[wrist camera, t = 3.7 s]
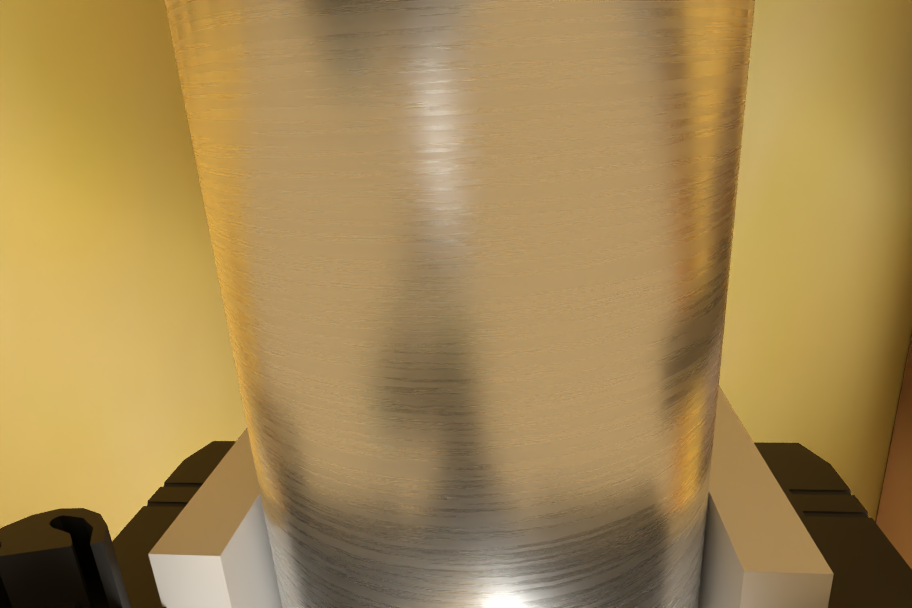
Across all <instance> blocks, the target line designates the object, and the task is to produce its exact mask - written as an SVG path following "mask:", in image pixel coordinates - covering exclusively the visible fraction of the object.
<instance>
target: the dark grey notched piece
mask: <svg viewBox="0 0 912 608" xmlns="http://www.w3.org/2000/svg"><path fill="white" fill-rule="evenodd" d="M876 524H877V525H878V527H879V528H880V529H881V530H882V532H883V533H884V534H885V536H886V537H887V538H888V540H889V541H890V542H891V543H892V545H893V546H894V547H895V549H896V550H897V551H898V552H899V554H900V555H901V556H902V558H903V559H904V560H905V562H906V563H907V564H908V565H909V567H910V568H911V569H912V336H911V341H910V346H909V351H908V357H907V362H906V367H905V372H904V378H903V383H902V388H901V393H900V399H899V404H898V409H897V414H896V420H895V425H894V430H893V435H892V441H891V446H890V451H889V457H888V462H887V467H886V472H885V478H884V483H883V488H882V493H881V499H880V504H879V509H878V514H877V520H876Z"/></svg>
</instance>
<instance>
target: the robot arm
mask: <svg viewBox="0 0 912 608" xmlns="http://www.w3.org/2000/svg"><path fill="white" fill-rule="evenodd" d="M0 608H282V604H281V598H280V593H279V588H278V583H277V578H276V573H275V568H274V562H273V557H272V552H271V547H270V542H269V537H268V531H267V526H266V521H265V516H264V511H263V506H262V501H261V495H260V490H259V485H258V480H257V475H256V470H255V464H254V459H253V454H252V449H251V444H250V439H249V434H248V428H246V430H245V431H244V432H243V433H242V435H241V436H240V437H239V439H238V440H237V441H213V442H211V443H210V444H208V445H207V446H205V447H204V448H202V449H200V450H199V451H197V452H196V453H194V454H193V455H191V456H190V457H188V458H186V459H185V460H184V461H183V462H182V463H181V464H180V465H179V466H178V467H177V469H176V470H175V471H174V472H173V473H172V474H171V475H170V477H169V478H168V479H167V480H166V481H165V482H164V487H160V488H159V489H158V490H157V491H156V492H155V494H154V495H153V496H152V497H151V498H150V499H149V500H148V505H147V506H143V507H142V508H141V510H140V511H139V512H138V513H137V514H136V515H135V516H134V518H133V519H132V520H131V521H130V522H129V523H128V524H127V525H126V527H125V528H124V529H123V530H122V531H121V532H120V533H119V535H118V536H117V537H116V538H115V539H114V540H113V541H112V540H111V537H110V534H109V530H108V527H107V524H106V523H105V521H104V520H103V518H102V516H101V515H100V514H99V513H96V512H93V511H90V510H87V509H84V508H72V509H57V510H52V511H48V512H44V513H39V514H35V515H32V516H29V517H27V518H24V519H22V520H19V521H17V522H14V523H12V524H10V525H7V526H5V527H3V528H1V529H0ZM698 608H912V569H911V568H910V567H909V565H908V564H907V563H906V562H905V560H904V559H903V558H902V556H901V555H900V554H899V552H898V551H897V550H896V549H895V547H894V546H893V545H892V543H891V542H890V541H889V540H888V538H887V537H886V536H885V534H884V533H883V532H882V530H881V529H880V528H879V527H878V525H877V524H876V523H875V521H874V520H873V519H872V518H868V515H867V511H866V510H865V508H864V507H863V506H862V505H861V503H860V502H859V501H858V499H857V498H856V497H855V495H851V493H850V489H849V488H848V486H847V485H846V484H845V483H844V481H843V480H842V479H841V477H840V476H839V475H838V473H837V472H836V471H835V470H834V468H833V467H832V466H831V464H829V463H828V462H826V461H825V460H823V459H822V458H820V457H819V456H817V455H816V454H814V453H813V452H811V451H810V450H808V449H807V448H805V447H804V446H802V445H801V444H799V443H753V441H752V439H751V438H750V436H749V434H748V433H747V431H746V429H745V428H744V426H743V424H742V423H741V421H740V420H739V418H738V416H737V415H736V413H735V411H734V410H733V408H732V406H731V405H730V403H729V402H728V400H727V398H726V397H725V395H724V393H723V392H722V390H721V388H720V387H718V397H717V408H716V419H715V429H714V440H713V450H712V461H711V472H710V482H709V493H708V504H707V514H706V525H705V535H704V546H703V557H702V567H701V578H700V589H699V599H698Z"/></svg>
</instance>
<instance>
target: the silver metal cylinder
mask: <svg viewBox="0 0 912 608" xmlns="http://www.w3.org/2000/svg"><path fill="white" fill-rule="evenodd" d="M164 1H165V6H166V11H167V16H168V21H169V26H170V32H171V37H172V42H173V47H174V52H175V57H176V63H177V68H178V73H179V78H180V83H181V88H182V93H183V99H184V104H185V109H186V114H187V119H188V124H189V130H190V135H191V140H192V145H193V150H194V155H195V160H196V166H197V171H198V176H199V181H200V186H201V191H202V197H203V202H204V207H205V212H206V217H207V222H208V227H209V233H210V238H211V243H212V248H213V253H214V258H215V263H216V269H217V274H218V279H219V284H220V289H221V294H222V300H223V305H224V310H225V315H226V320H227V325H228V330H229V336H230V341H231V346H232V351H233V356H234V361H235V367H236V372H237V377H238V382H239V387H240V392H241V397H242V403H243V408H244V413H245V418H246V423H247V428H248V434H249V439H250V444H251V449H252V454H253V459H254V464H255V470H256V475H257V480H258V485H259V490H260V495H261V501H262V506H263V511H264V516H265V521H266V526H267V531H268V537H269V542H270V547H271V552H272V557H273V562H274V568H275V573H276V578H277V583H278V588H279V593H280V598H281V604H282V608H698V599H699V589H700V578H701V567H702V557H703V546H704V535H705V525H706V514H707V504H708V493H709V482H710V472H711V461H712V450H713V440H714V429H715V419H716V408H717V397H718V387H719V376H720V366H721V355H722V344H723V334H724V323H725V312H726V302H727V291H728V281H729V270H730V259H731V249H732V238H733V228H734V217H735V206H736V196H737V185H738V174H739V164H740V153H741V143H742V132H743V121H744V111H745V100H746V89H747V79H748V68H749V58H750V47H751V36H752V26H753V15H754V5H755V0H164Z"/></svg>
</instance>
